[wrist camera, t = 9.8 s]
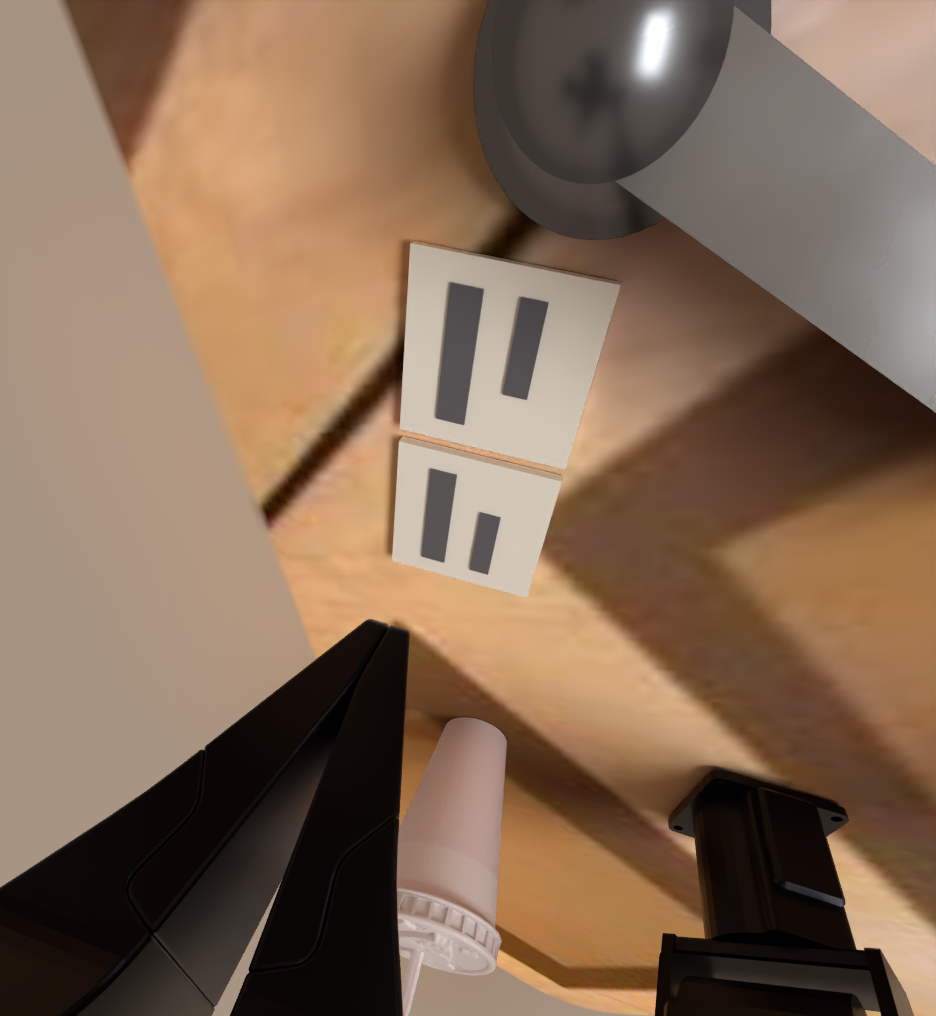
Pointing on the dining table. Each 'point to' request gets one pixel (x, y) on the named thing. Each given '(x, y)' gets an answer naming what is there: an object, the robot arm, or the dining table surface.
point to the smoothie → (452, 856)
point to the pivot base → (550, 197)
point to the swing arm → (735, 159)
